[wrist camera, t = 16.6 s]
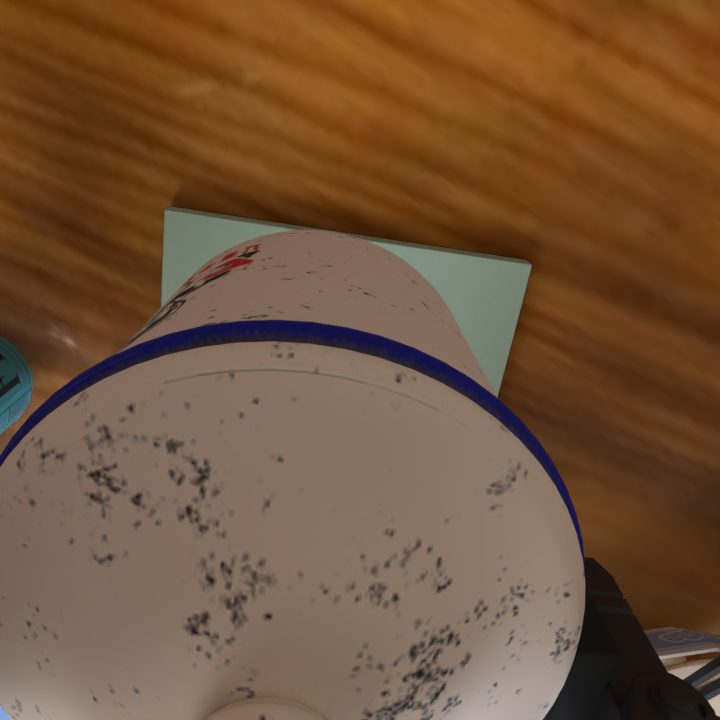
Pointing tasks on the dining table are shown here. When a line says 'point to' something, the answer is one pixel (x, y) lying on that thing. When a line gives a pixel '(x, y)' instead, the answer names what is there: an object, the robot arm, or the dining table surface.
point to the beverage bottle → (13, 384)
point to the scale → (436, 264)
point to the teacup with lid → (287, 512)
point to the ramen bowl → (690, 658)
